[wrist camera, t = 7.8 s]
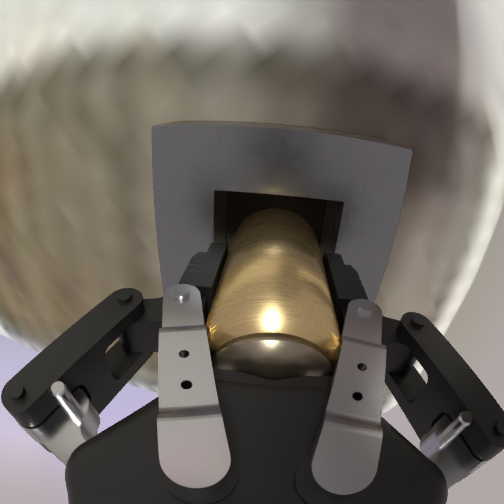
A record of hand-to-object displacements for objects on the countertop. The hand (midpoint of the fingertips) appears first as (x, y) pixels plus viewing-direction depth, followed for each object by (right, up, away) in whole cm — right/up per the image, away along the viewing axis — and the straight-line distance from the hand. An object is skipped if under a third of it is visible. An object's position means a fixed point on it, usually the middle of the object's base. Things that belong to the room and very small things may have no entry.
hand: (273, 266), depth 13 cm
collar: (0, +2, +5) cm, 5 cm away
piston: (0, +1, +2) cm, 2 cm away
